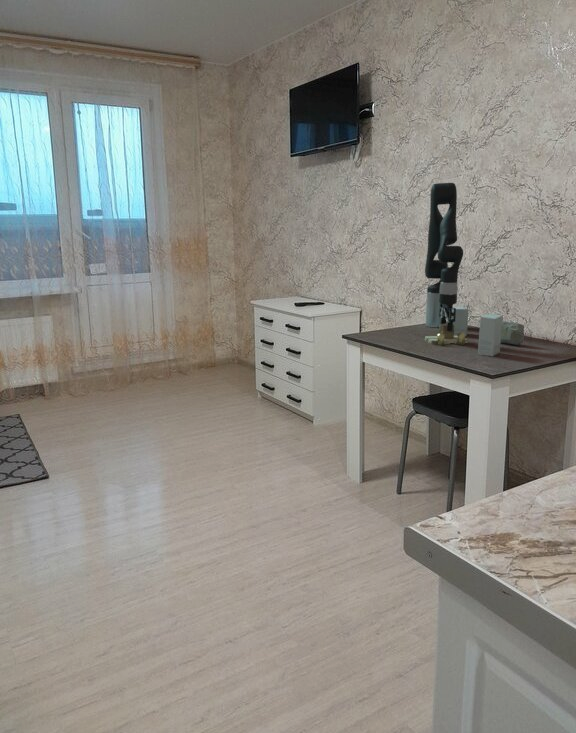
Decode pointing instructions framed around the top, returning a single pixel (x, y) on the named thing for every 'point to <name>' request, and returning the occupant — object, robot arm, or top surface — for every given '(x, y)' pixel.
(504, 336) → the stone
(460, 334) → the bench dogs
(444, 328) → the walnut block
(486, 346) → the skincare box
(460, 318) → the supplement box
